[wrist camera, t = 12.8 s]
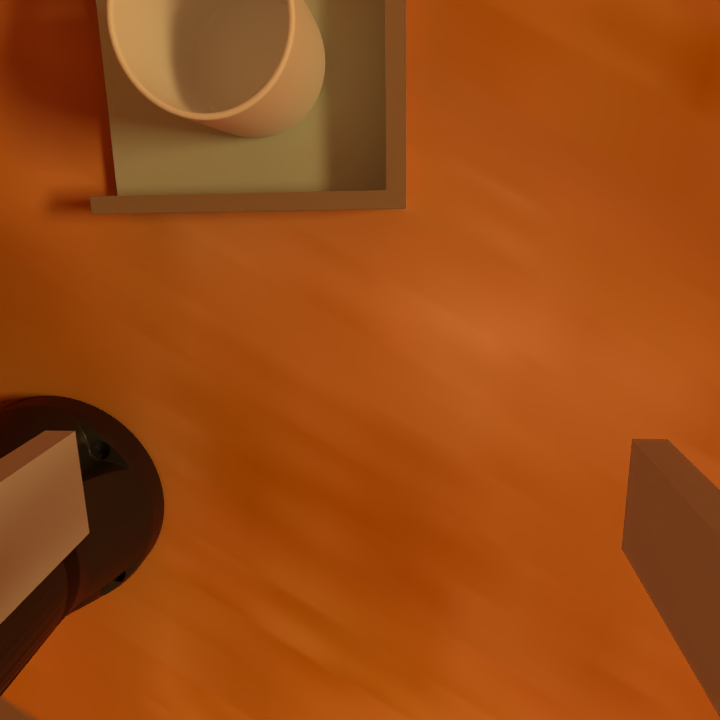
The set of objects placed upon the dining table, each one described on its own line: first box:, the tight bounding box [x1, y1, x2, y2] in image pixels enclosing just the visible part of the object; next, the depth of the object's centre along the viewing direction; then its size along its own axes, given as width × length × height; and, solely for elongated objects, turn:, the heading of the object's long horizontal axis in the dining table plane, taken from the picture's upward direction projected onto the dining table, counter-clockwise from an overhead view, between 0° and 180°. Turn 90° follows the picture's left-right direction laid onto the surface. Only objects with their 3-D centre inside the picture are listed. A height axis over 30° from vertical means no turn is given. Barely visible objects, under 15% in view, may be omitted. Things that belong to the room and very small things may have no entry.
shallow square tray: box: [89, 0, 406, 214], centre depth 35 cm, size 18×19×4 cm
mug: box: [106, 0, 325, 138], centre depth 32 cm, size 12×8×10 cm
